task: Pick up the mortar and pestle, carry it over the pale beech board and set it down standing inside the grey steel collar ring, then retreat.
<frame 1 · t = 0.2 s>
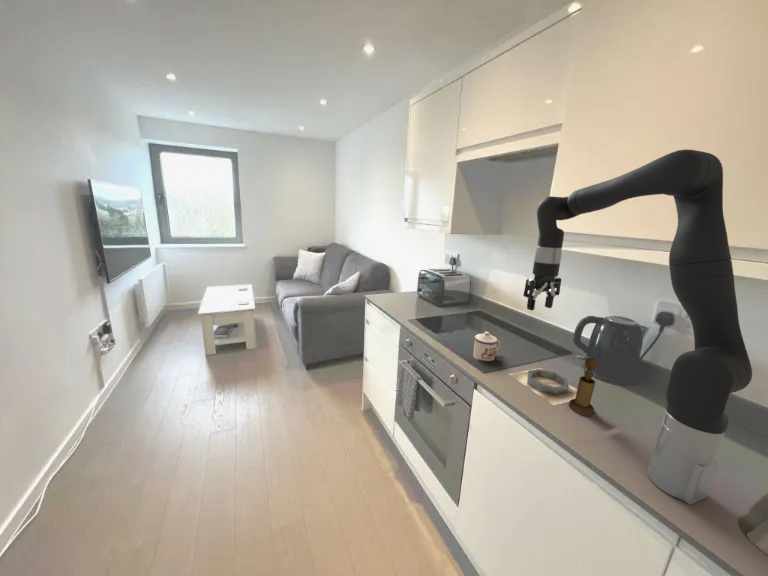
hand: (539, 308, 103), 28 cm above the worktop, fingers open, 8 cm apart
beech board: (546, 387, 108), on the worktop
teacup with lid: (486, 358, 129), on the worktop
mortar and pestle: (580, 412, 95), on the worktop
steel collar: (546, 384, 108), resting on beech board
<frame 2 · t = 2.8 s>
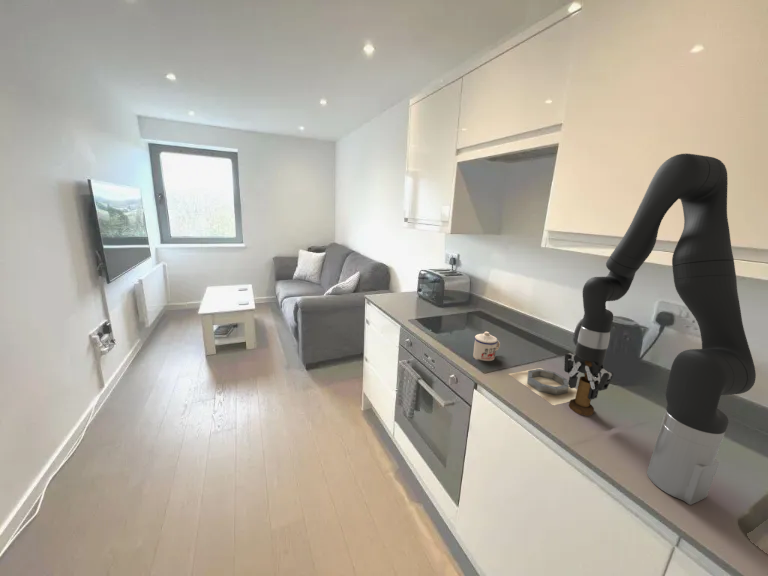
hand: (581, 392, 95), 6 cm above the worktop, fingers open, 5 cm apart
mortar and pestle: (580, 412, 95), on the worktop, touching gripper
everything else where it was.
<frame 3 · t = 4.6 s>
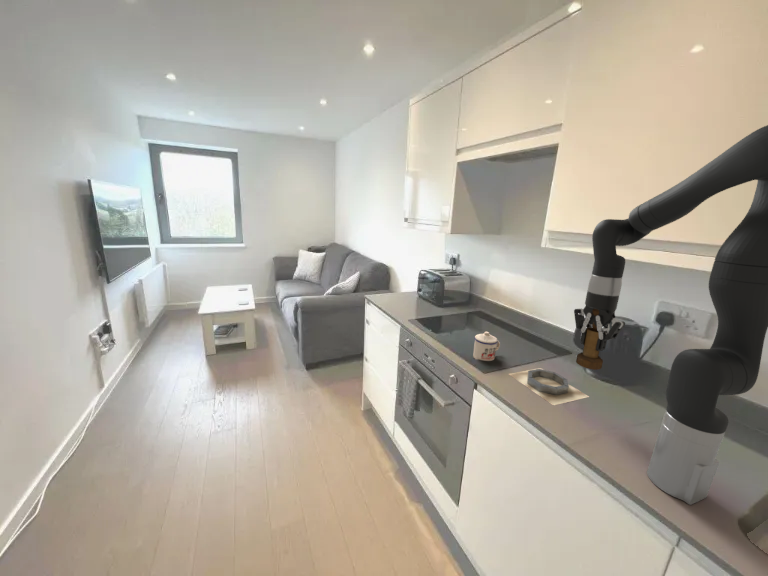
hand: (591, 347, 91), 21 cm above the worktop, fingers closed on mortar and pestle, 4 cm apart
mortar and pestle: (588, 365, 92), point 16 cm above the worktop, touching gripper
everything else where it was.
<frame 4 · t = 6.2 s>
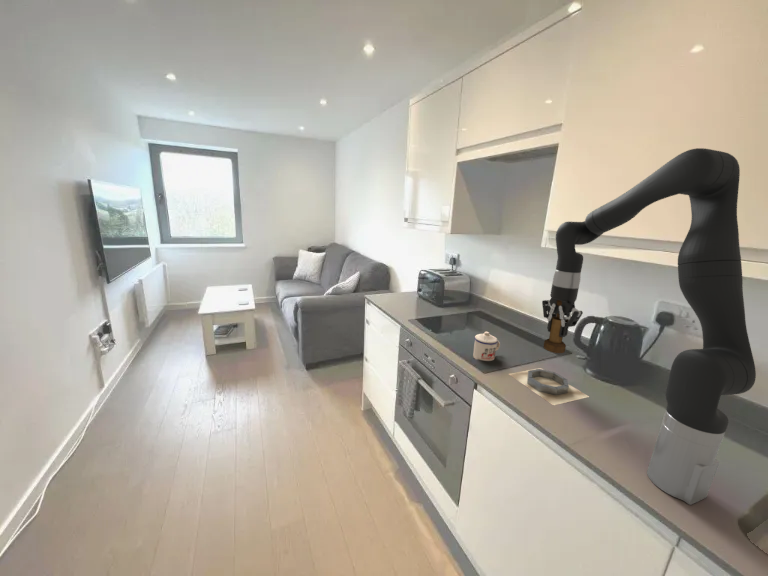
hand: (556, 333, 103), 20 cm above the worktop, fingers closed on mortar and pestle, 4 cm apart
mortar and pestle: (553, 349, 104), point 15 cm above the worktop, touching gripper
everything else where it was.
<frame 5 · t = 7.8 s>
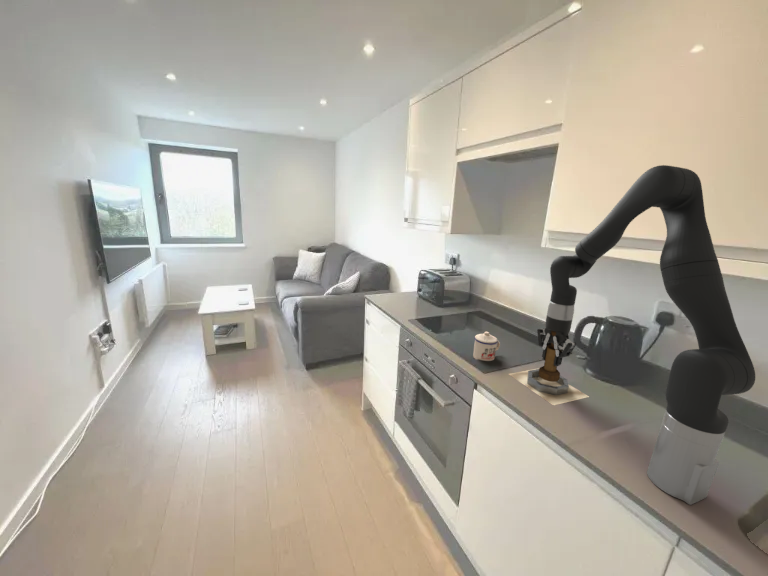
hand: (550, 362, 106), 10 cm above the worktop, fingers closed on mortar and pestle, 4 cm apart
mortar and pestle: (548, 377, 107), point 4 cm above the worktop, touching gripper
everything else where it was.
when the fingers open (8 cm above the worktop, at t = 9.1 s): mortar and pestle stays where it is, resting on beech board.
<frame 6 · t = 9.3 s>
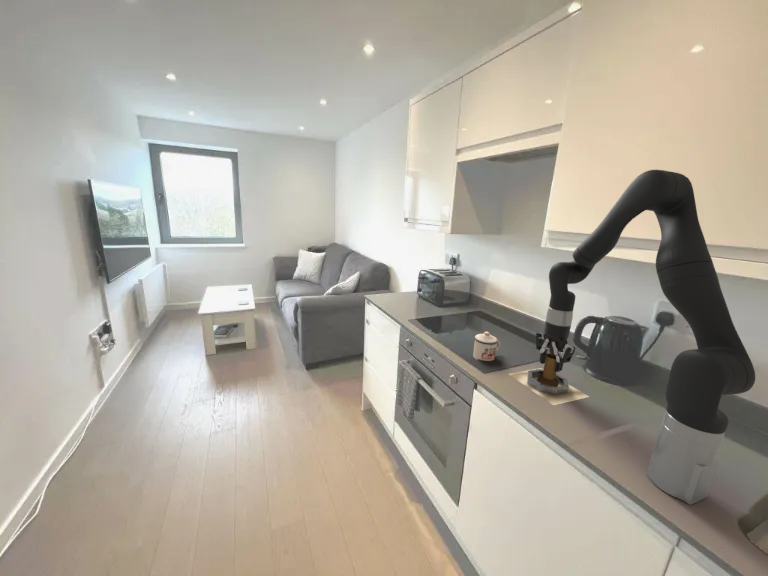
hand: (549, 366, 106), 8 cm above the worktop, fingers open, 5 cm apart
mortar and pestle: (547, 385, 108), point 1 cm above the worktop, touching beech board
everything else where it was.
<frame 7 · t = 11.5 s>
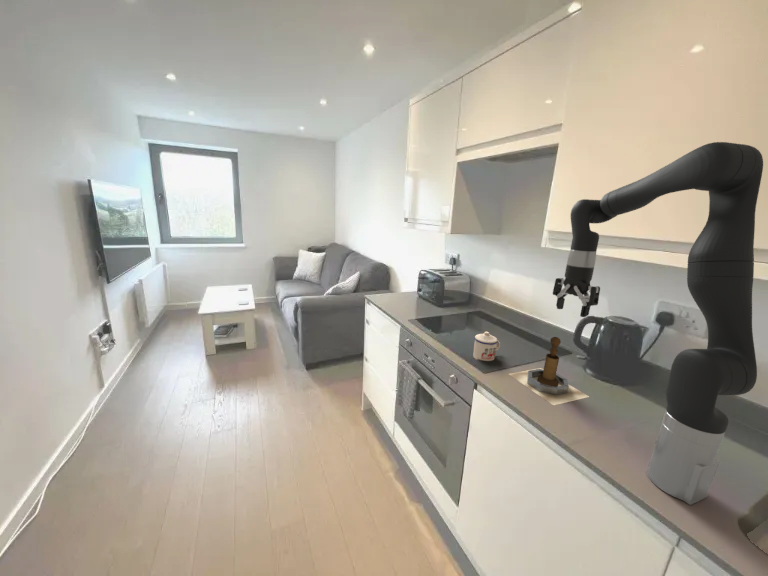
hand: (571, 312, 102), 28 cm above the worktop, fingers open, 8 cm apart
nothing on the worktop moved.
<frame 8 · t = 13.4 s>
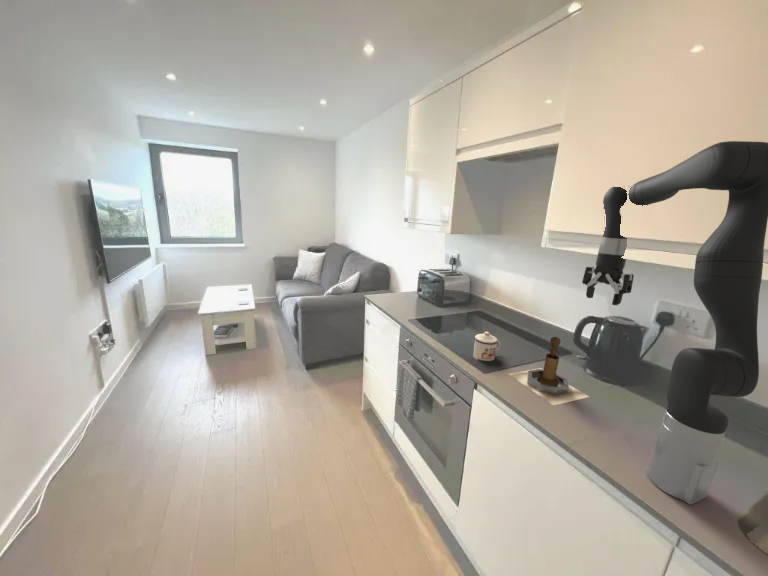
hand: (601, 301, 101), 32 cm above the worktop, fingers open, 8 cm apart
nothing on the worktop moved.
at the end: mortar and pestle 0.2 cm from the steel collar (horizontally); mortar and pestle point 0.8 cm above the worktop; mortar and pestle tilted 0° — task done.
